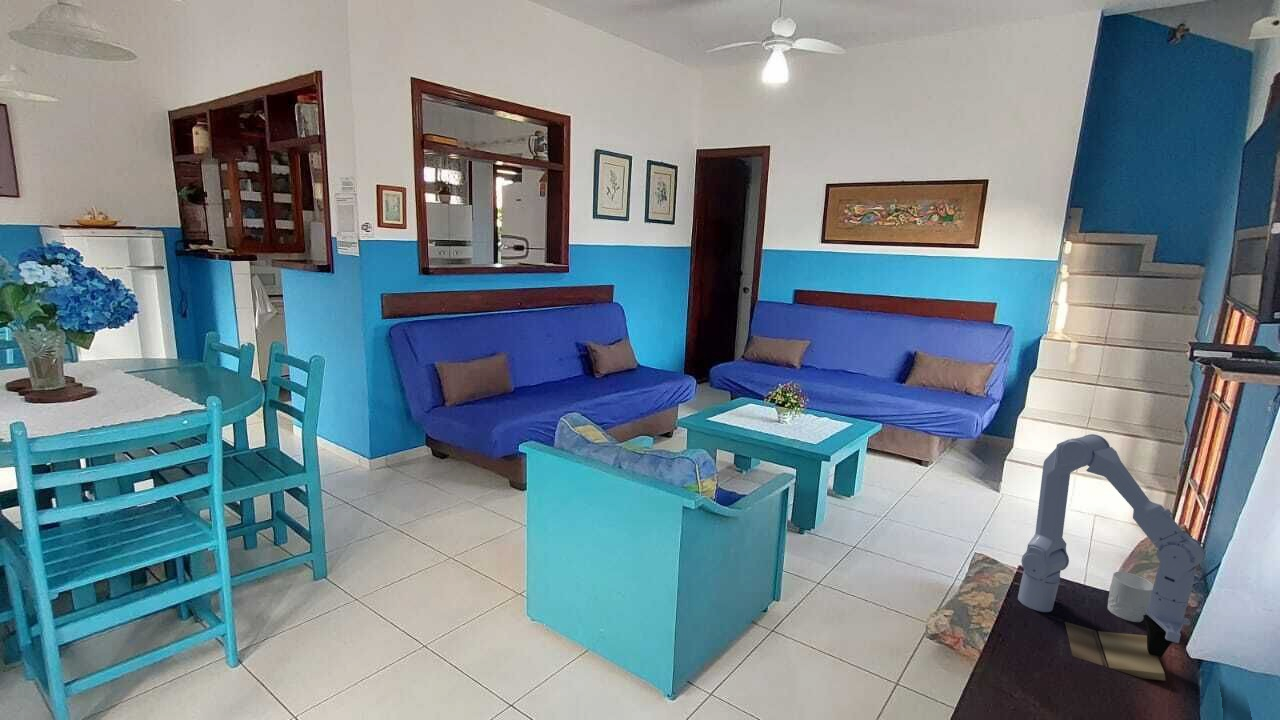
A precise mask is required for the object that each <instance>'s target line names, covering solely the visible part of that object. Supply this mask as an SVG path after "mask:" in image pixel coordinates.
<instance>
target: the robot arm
mask: <svg viewBox="0 0 1280 720" xmlns="http://www.w3.org/2000/svg"><path fill="white" fill-rule="evenodd" d="M1087 466H1088V468H1087V469H1085V470H1086V472H1088V473H1092V474H1094V475H1098V476H1101V477H1103V478H1106V480H1107V481H1108V482H1109V484H1110V485H1112V487H1113V488H1114V489H1115V490H1116V492H1118V493H1119V495H1121V497H1122V498H1123V499H1124V500H1125V501H1126V502H1127V503H1128V504H1129V506H1130V507H1131V508H1132V509H1133V513H1132V519H1133V520H1134V522H1135V523H1136V524H1137V525H1138V526H1139V528H1140V529H1141V531H1142V532H1143V533H1144V534H1145V535H1146V537H1147V538H1148V539H1149V540H1150V542H1151V543H1152V544H1153V545H1154V547H1155V548H1157V550H1156V557H1157V559H1158V562H1159V566H1158V569H1157V570H1156V575H1155V579H1154V583H1153V585H1154V586H1153V589H1152V593H1151V596H1150V600H1149V603H1148V606H1147V607H1146V614H1145V615H1143V617H1144V618H1143V621H1144V623H1145V626H1146V636H1147V649H1148V652H1149V654H1151V655H1154V656H1157V657H1158V658H1161V657H1163V655H1164V654H1165V653H1166V652H1167V650H1168V649H1169V647H1170V646H1171V644H1173V643H1175V644H1176V643H1177V644H1179V643H1180V640H1181V637H1182V635H1183V634H1182V632H1181V631H1182V628H1183V626H1190V625H1191V621H1190V619H1189V618H1187V617H1185V614H1186V611H1187V608H1188V602H1189V600H1190V596H1191V593H1192V589H1193V585H1194V582H1195V576H1196V571H1197V567H1196V566H1198V565H1200V564H1201V563H1202V562H1203V561H1204V559H1205V556H1206V555H1205V550H1204V548H1203V546H1202V544H1201V542H1200V541H1199V540H1197V539H1196V538H1194V537H1191V536H1190V535H1189V534H1188V533H1187V532H1184V530H1183V529H1182V528H1181V527H1180V526H1179V524H1178V523H1177V522H1176V521H1175V520H1174V519H1173V517H1172V515H1173V512H1172V511H1171V510H1170V509H1169V508H1166V509H1165V508H1164V506H1163V505H1162V504H1159V503H1156V502H1153V501H1151V500H1150V498H1148V496H1147V495H1146V493H1145V492H1144V491H1143V489H1142V488H1141V486H1140V485H1139V484H1138V483H1137V481H1136V480H1135V479H1134V477H1133V475H1132V474H1131V473H1130V472H1129V470H1128V469H1127V468H1126V466H1125V465H1124V464H1123V462H1122V461H1121V458H1120V457H1119V455H1118V452H1117V450H1115V448H1114V447H1112V446H1110V443H1109V441H1107V440H1106V438H1104V437H1103V436H1101V435H1098V434H1094V433H1092V434H1091V433H1090V434H1086V435H1084V436H1081V437H1076V438H1073V437H1072V438H1069V439H1066V440H1064V441H1061V442H1059V443H1057V444H1056V448H1055V449H1053V451H1051V453H1050V454H1049V455H1048V456H1047V457H1046V458H1045V459H1044V461H1043V464H1042V474H1041V481H1040V482H1041V484H1040V490H1039V491H1040V492H1039V497H1038V506H1037V516H1036V517H1037V518H1036V524H1035V525H1036V526H1035V533H1034V535H1033V537H1032V538H1031V540H1030V541H1029V542H1028V544H1027V546H1026V547H1027V548H1026V551H1025V553H1024V554H1023V555H1022V558H1021V565H1022V568H1023V572H1022V577H1021V581H1020V584H1019V588H1018V589H1019V591H1018V595H1017V600H1018V601H1019V602H1020V603H1021V604H1022V605H1023V606H1025V607H1026V608H1029V609H1031V610H1034V611H1037V612H1041V613H1049V612H1052V611H1053V609H1054V605H1055V602H1056V597H1057V594H1058V589H1059V585H1060V581H1061V573H1062V572H1061V571H1064V570H1065V569H1067V568H1068V566H1069V563H1070V558H1069V554H1068V552H1067V543H1066V540H1064V538H1063V535H1064V527H1065V520H1066V511H1067V509H1066V508H1067V504H1068V503H1067V502H1068V496H1069V495H1068V493H1069V486H1070V478H1071V474H1072V473H1073V472H1074V471H1077V470H1079V469H1080V468H1083V467H1087Z"/></svg>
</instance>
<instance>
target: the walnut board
mask: <svg viewBox="0 0 1280 720" xmlns="http://www.w3.org/2000/svg"><path fill="white" fill-rule="evenodd" d="M1064 625H1065V629H1066V633H1067V638H1068V641H1069V646H1070V652H1071V654H1072V657H1073V658H1076V659H1080V660H1083V661H1086V662H1090V663H1093V664H1095V665H1099V666H1101V667H1102V666H1103V667H1104V668H1105V667H1106V668H1108V663H1107V660H1106V659H1105V658H1106V657H1105V656H1104V655H1105V653H1104V650H1103V647H1102V644H1101V641H1100V637H1099V634H1098V631H1097V630H1096V629H1091V628H1088V627H1085V626H1081V625H1078V624H1075V623H1070V622H1068V621H1064Z"/></svg>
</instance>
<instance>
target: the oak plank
mask: <svg viewBox="0 0 1280 720" xmlns="http://www.w3.org/2000/svg"><path fill="white" fill-rule="evenodd" d="M1097 635H1098V638H1099V641H1100V644H1101V648H1102V651H1103V654H1104V655H1105V656H1104V657H1105V658H1106V659H1105V660H1106V663H1107V667H1108V668H1109V669H1111V670H1115V671H1118V672H1121V673H1124V674H1127V675H1130V676H1133V677H1137V678H1140V679H1146V680H1155V681H1165V682H1166V674H1165V671H1164V668H1163V666H1162V664H1161V662H1160V659H1159V657H1158V656H1154V655H1151V654H1149V652H1148V649H1147V634H1146V635H1145V634H1134V633H1133V634H1132V633H1121V632H1120V633H1119V632H1110V631H1097Z"/></svg>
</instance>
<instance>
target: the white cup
mask: <svg viewBox="0 0 1280 720" xmlns="http://www.w3.org/2000/svg"><path fill="white" fill-rule="evenodd" d="M1153 586H1154V583H1152V582H1151V581H1150V580H1148V579H1146V578H1144V577H1141V576H1140V575H1137V574H1133V573H1130V572H1126V571H1116V572H1114V573H1113V575H1112V579H1111V584H1110V587H1109V593H1108V599H1107V610H1108V611H1109V612H1110V613H1111V614H1112V615H1115V616H1116V617H1118V618H1120V619H1122V620H1125V621H1128V622H1134V623H1141V622H1142V621H1144V617H1143V615H1147V614H1146V607H1147V606H1148V603H1149V600H1150V596H1151V593H1152V589H1153Z"/></svg>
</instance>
